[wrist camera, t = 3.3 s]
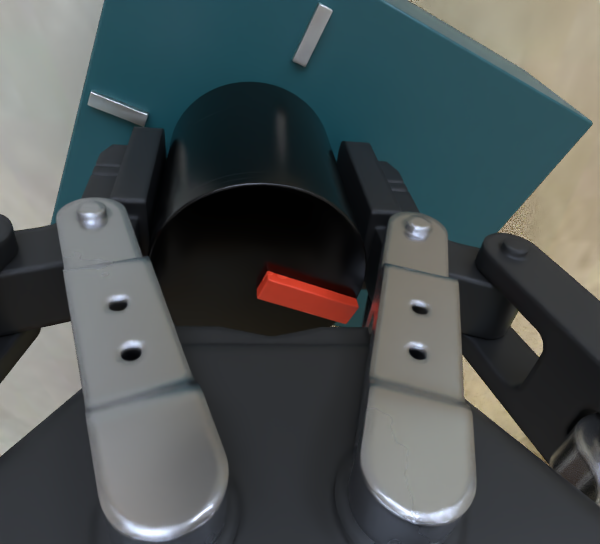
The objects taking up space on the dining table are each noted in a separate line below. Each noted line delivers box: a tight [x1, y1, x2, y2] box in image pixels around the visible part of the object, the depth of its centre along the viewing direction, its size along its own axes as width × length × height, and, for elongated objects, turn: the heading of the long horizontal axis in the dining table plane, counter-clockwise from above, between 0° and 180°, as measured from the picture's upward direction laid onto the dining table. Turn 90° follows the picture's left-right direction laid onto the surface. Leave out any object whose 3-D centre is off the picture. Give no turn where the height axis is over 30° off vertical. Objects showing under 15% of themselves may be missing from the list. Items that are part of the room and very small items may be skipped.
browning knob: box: [148, 82, 367, 336], centre depth 12 cm, size 4×4×5 cm
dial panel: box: [51, 0, 593, 327], centre depth 16 cm, size 13×10×5 cm
